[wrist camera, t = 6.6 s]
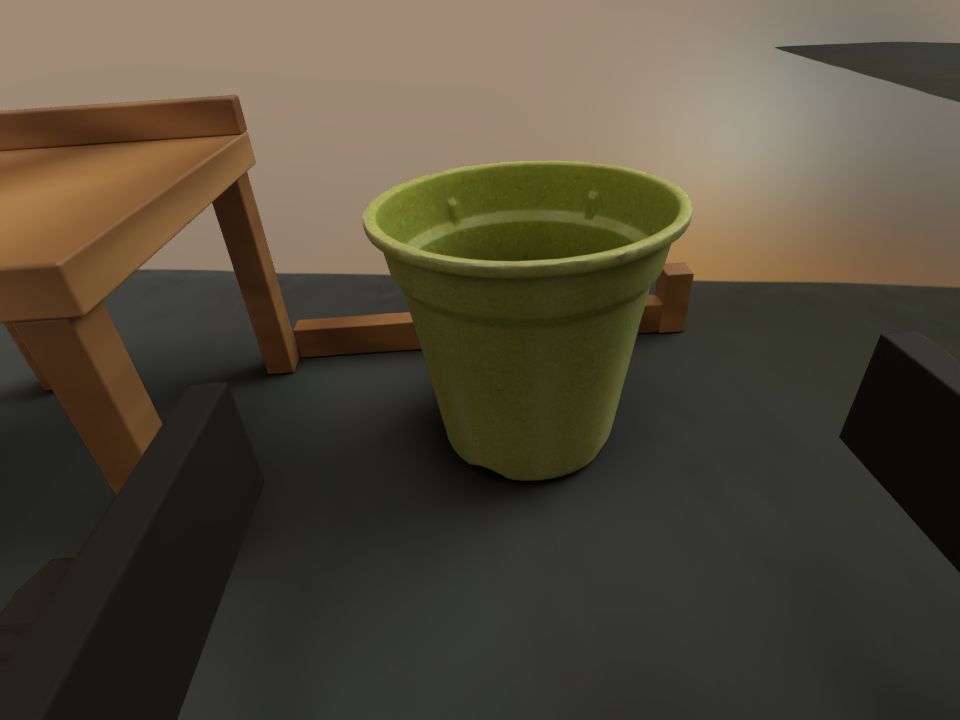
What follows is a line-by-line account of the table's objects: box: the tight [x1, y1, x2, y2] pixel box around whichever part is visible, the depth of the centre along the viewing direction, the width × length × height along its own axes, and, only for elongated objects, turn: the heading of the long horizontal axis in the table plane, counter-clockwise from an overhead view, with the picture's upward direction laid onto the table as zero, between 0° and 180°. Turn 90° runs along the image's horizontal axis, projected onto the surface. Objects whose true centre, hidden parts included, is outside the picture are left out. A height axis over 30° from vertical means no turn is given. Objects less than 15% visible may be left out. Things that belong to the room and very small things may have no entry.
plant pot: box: [363, 161, 693, 481], centre depth 19 cm, size 9×9×9 cm
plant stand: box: [0, 95, 694, 495], centre depth 18 cm, size 30×13×11 cm, turn 93°
